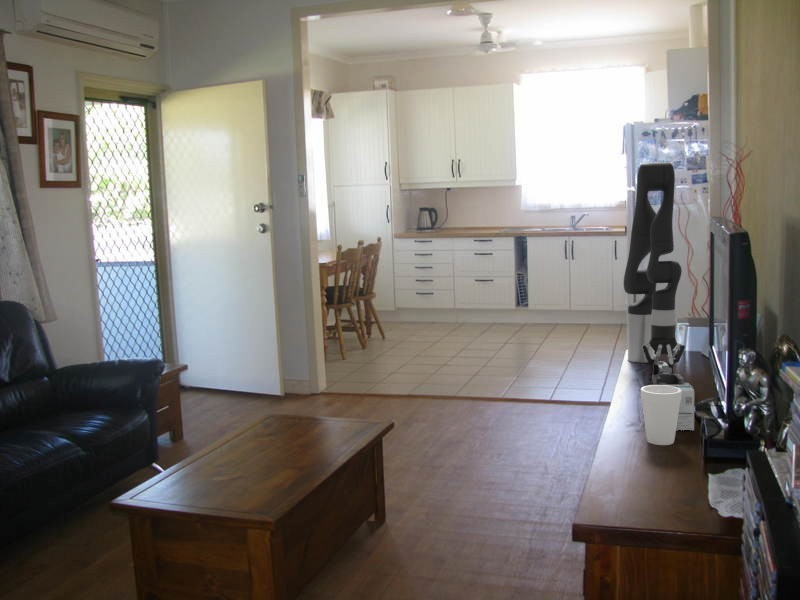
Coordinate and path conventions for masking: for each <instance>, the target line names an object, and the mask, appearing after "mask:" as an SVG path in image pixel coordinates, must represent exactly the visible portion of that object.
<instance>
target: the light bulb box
mask: <svg viewBox="0 0 800 600" xmlns="http://www.w3.org/2000/svg"><path fill="white" fill-rule="evenodd" d="M649 385H650V384H648V385H647V386H649ZM667 386H674V387H677V388H680V389H681V390H682V396H681V401H680V407H679V413H678V420H677V427H676V432H677V431H678V430H681V431H682V430H683V431H684V430H690V431H691V430H692V431H695V389H693V388H694V387H693V388H691V387H690V386H689V385H688V384H687V385H675V384H667ZM681 431H680V432H681Z"/></svg>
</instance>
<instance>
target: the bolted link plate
mask: <svg viewBox="0 0 800 600" xmlns="http://www.w3.org/2000/svg"><path fill="white" fill-rule="evenodd" d="M663 372H669V374H673V373H672V369H671V368H670V367H669V366H668V365H667V363H666V362H665V361H663V360H660V361H659V360H658V374H662V373H663Z"/></svg>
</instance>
